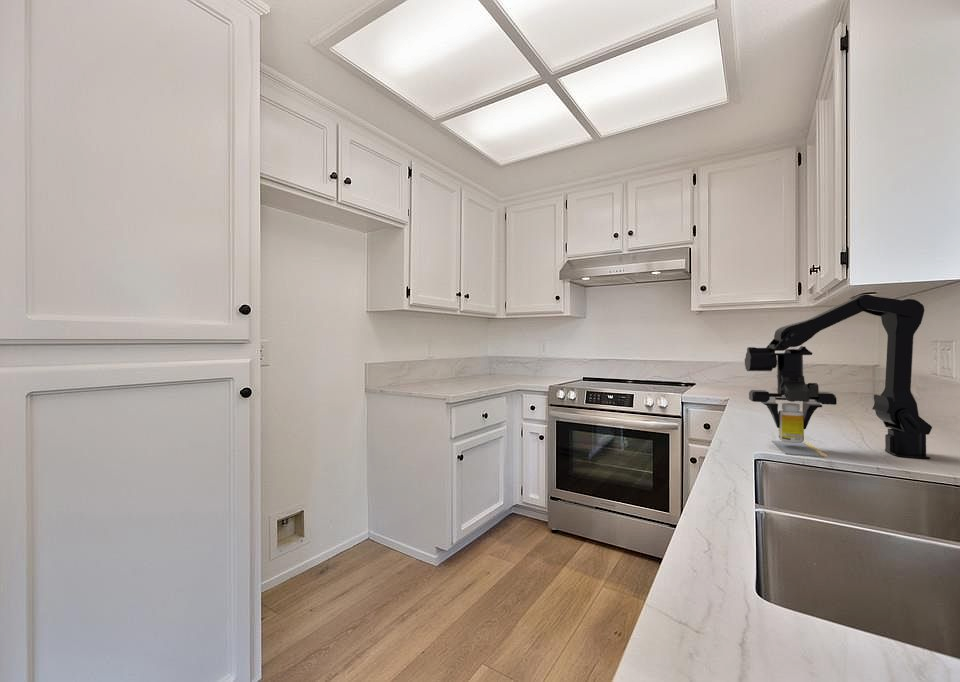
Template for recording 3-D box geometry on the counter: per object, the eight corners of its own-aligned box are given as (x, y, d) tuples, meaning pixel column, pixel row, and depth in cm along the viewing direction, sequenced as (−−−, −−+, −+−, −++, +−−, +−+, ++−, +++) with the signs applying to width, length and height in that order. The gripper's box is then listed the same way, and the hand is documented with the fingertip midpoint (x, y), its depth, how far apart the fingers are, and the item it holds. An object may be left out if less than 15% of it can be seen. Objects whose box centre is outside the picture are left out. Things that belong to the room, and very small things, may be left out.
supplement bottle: (808, 443, 112) (808, 405, 112) (786, 443, 113) (785, 405, 113) (796, 439, 118) (795, 402, 118) (774, 438, 119) (774, 402, 119)
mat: (808, 444, 120) (808, 442, 120) (827, 457, 106) (827, 455, 106) (771, 441, 123) (771, 440, 123) (785, 454, 109) (785, 452, 109)
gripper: (756, 373, 112) (757, 431, 112) (844, 374, 104) (845, 437, 104) (748, 370, 122) (749, 424, 122) (828, 371, 115) (829, 428, 115)
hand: (790, 428), depth 115 cm, fingers closed on supplement bottle, 6 cm apart
